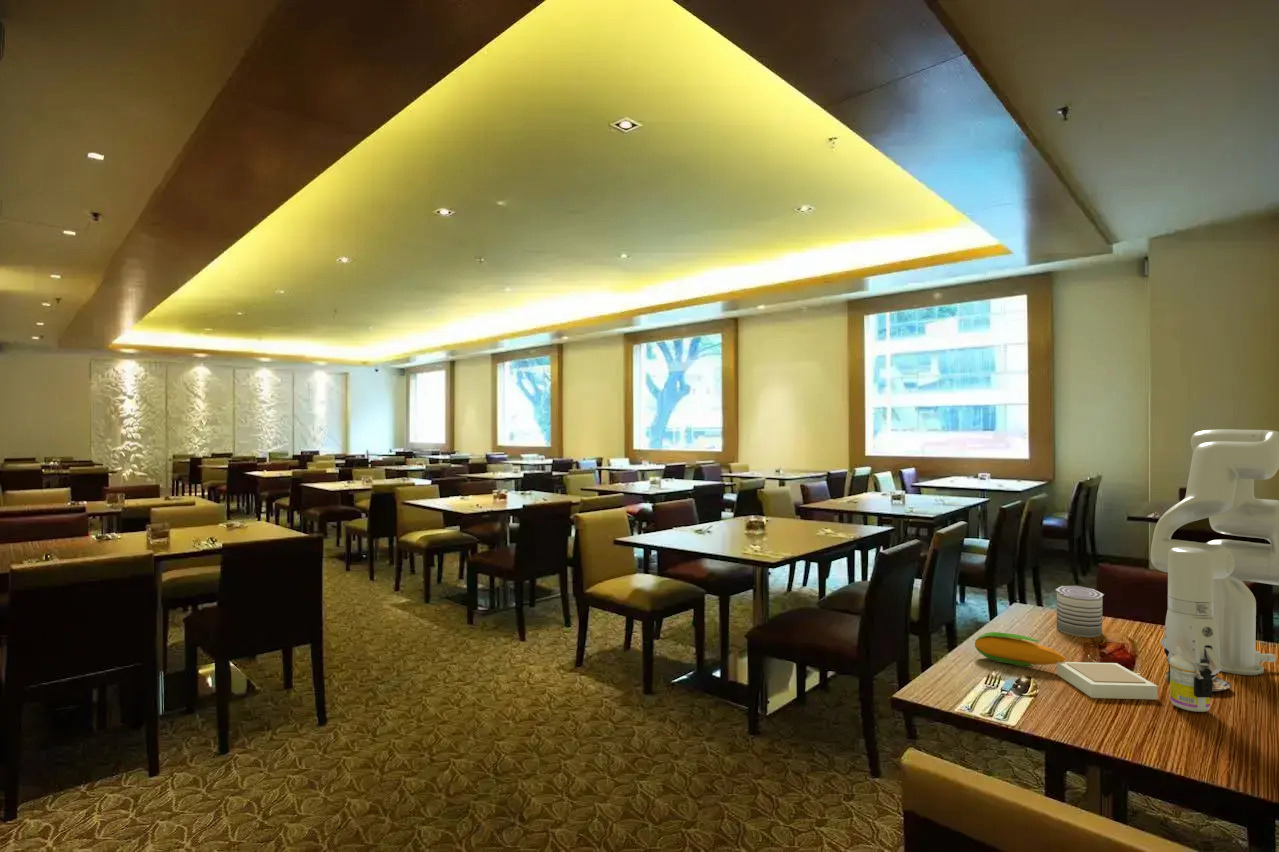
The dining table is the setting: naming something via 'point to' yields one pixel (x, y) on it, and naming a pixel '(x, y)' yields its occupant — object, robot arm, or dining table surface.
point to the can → (1079, 611)
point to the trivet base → (1106, 680)
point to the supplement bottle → (1185, 685)
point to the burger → (1214, 683)
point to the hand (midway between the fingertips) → (1189, 688)
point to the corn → (1016, 650)
